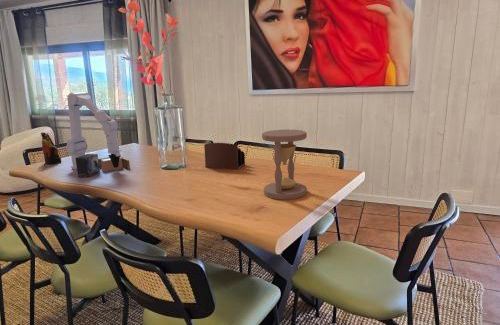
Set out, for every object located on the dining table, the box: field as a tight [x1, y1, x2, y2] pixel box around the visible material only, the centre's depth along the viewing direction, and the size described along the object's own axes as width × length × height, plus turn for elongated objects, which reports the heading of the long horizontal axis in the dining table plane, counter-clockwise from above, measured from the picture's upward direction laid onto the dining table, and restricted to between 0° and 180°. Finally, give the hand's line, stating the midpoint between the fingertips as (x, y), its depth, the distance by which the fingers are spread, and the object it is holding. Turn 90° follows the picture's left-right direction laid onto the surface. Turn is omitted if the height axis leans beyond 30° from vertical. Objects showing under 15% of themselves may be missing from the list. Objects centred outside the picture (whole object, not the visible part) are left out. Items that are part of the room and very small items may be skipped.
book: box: [101, 158, 124, 172], centre depth 193 cm, size 5×10×6 cm, turn 128°
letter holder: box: [203, 142, 246, 170], centre depth 187 cm, size 10×20×14 cm, turn 69°
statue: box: [40, 131, 62, 165], centre depth 214 cm, size 12×8×20 cm, turn 49°
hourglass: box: [261, 129, 308, 201], centre depth 138 cm, size 18×18×25 cm
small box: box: [75, 153, 101, 178], centre depth 182 cm, size 11×6×10 cm, turn 168°
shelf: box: [98, 155, 131, 170], centre depth 194 cm, size 17×14×5 cm
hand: (116, 167), depth 187 cm, fingers closed
